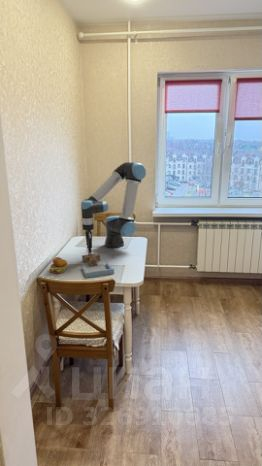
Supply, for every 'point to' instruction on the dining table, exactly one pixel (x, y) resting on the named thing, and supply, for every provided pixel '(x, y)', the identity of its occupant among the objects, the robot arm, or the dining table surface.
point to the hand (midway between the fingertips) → (89, 256)
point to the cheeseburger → (58, 265)
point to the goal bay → (100, 272)
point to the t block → (91, 259)
